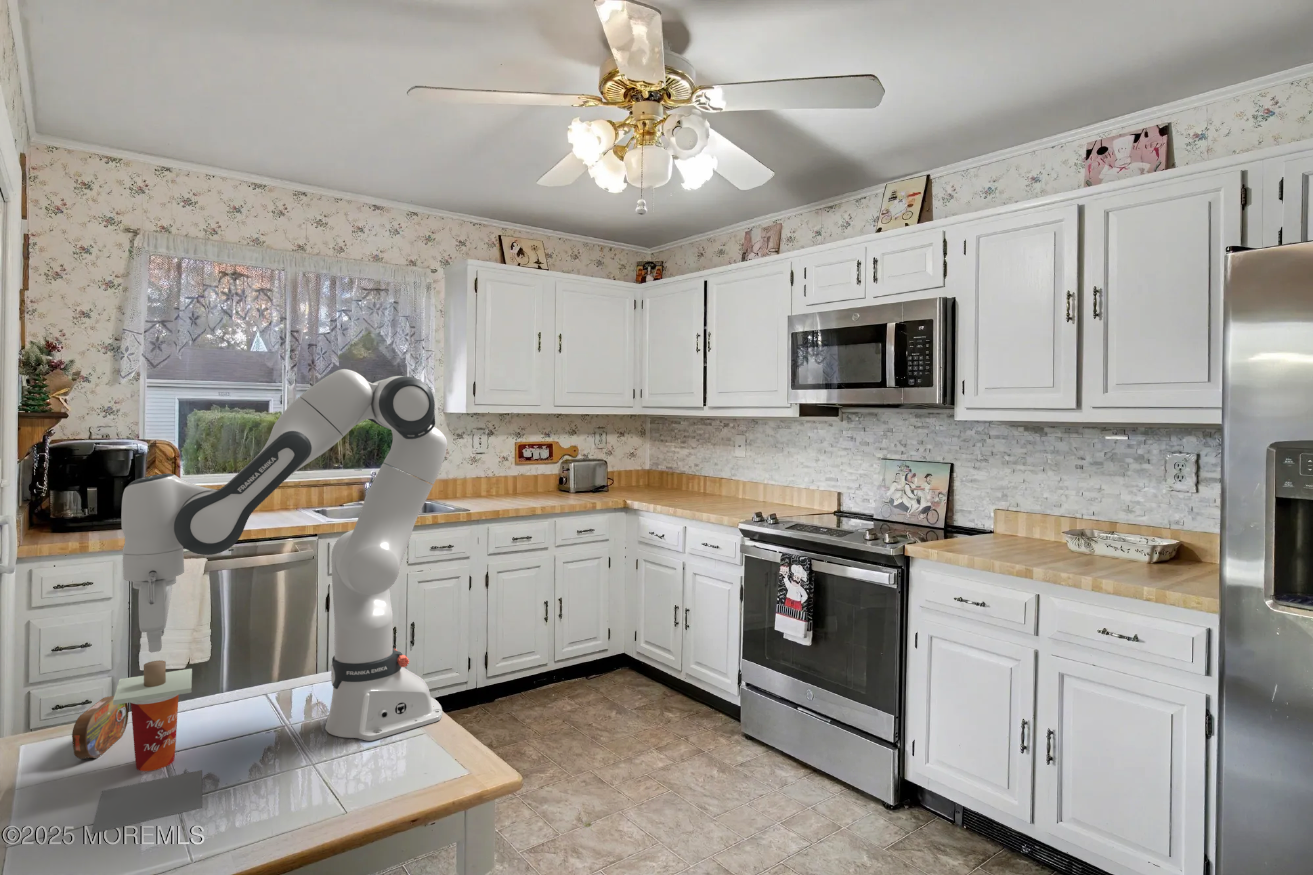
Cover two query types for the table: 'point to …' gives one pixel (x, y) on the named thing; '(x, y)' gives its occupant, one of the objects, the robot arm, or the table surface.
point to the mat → (148, 801)
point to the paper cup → (154, 732)
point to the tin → (99, 728)
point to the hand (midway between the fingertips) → (156, 643)
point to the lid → (153, 684)
